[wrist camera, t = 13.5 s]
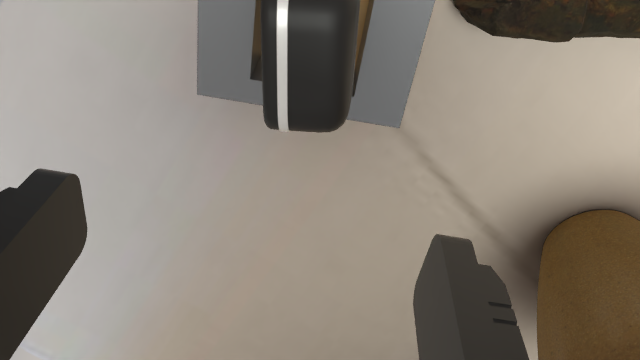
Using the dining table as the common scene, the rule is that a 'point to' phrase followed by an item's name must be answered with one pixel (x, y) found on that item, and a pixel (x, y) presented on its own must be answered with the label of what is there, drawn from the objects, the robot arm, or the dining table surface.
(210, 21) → the dock
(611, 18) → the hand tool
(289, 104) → the battery charger
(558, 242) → the plant pot
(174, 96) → the dining table surface
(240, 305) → the dining table surface
